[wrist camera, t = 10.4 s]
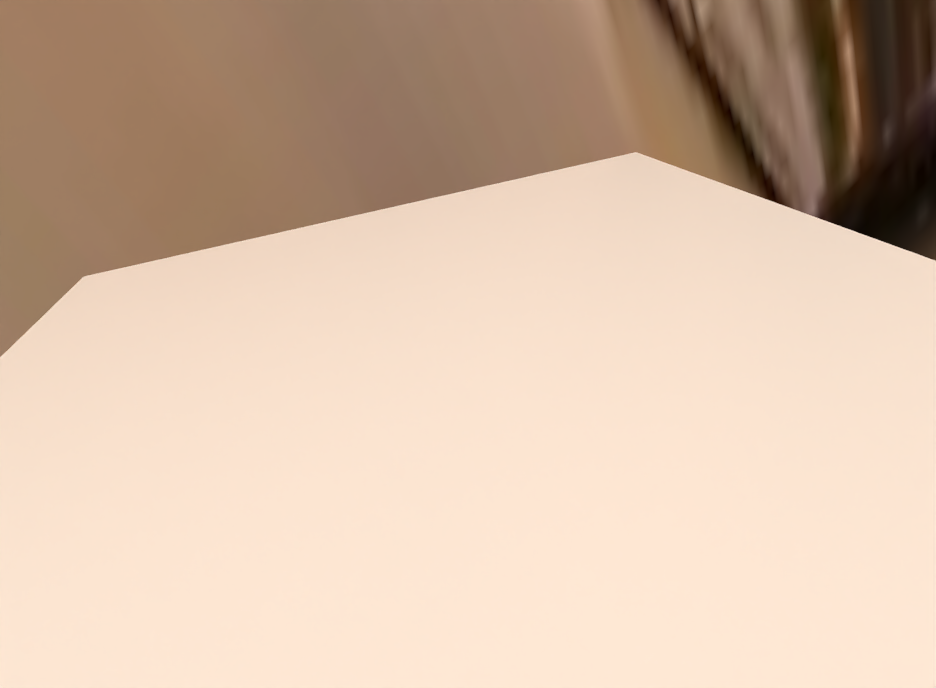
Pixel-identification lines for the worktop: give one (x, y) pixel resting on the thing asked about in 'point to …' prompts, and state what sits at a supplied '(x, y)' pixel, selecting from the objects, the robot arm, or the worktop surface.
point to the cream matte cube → (483, 452)
